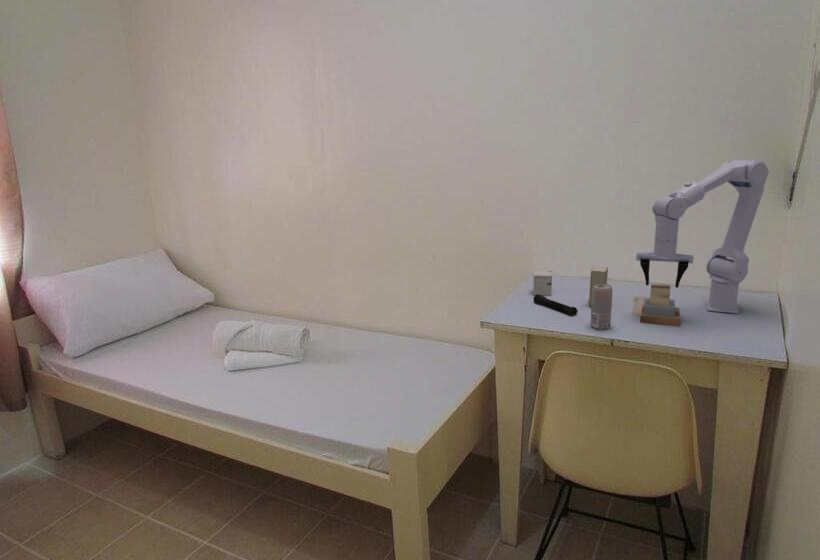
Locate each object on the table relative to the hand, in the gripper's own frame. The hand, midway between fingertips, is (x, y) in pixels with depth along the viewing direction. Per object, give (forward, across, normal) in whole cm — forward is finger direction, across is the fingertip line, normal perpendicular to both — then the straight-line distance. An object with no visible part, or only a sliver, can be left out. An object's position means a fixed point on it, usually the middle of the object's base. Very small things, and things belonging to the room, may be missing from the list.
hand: (661, 285), depth 150 cm
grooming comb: (+11, -5, +10) cm, 15 cm away
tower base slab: (+10, 0, 0) cm, 10 cm away
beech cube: (+5, 0, 0) cm, 5 cm away
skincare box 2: (+10, -18, +7) cm, 22 cm away
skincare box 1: (+10, -37, +14) cm, 41 cm away
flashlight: (+10, -30, -1) cm, 32 cm away
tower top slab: (+8, 0, 0) cm, 8 cm away
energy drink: (+10, -15, -12) cm, 22 cm away
